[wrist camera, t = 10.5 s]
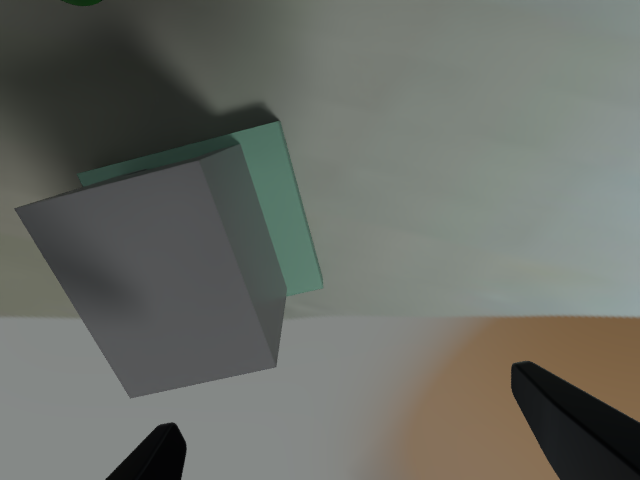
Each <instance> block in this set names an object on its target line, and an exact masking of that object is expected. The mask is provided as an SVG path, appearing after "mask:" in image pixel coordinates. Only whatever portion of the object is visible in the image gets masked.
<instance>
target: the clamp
mask: <svg viewBox="0 0 640 480" xmlns="http://www.w3.org/2000/svg"><path fill="white" fill-rule="evenodd" d="M62 1H64V2H66V3H69V4H73V5H78V6H90V5H94V4H97V3H99V2H101V1H102V0H62Z"/></svg>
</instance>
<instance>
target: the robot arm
mask: <svg viewBox="0 0 640 480" xmlns="http://www.w3.org/2000/svg"><path fill="white" fill-rule="evenodd" d="M511 389H512V393H513V395H514V397H515V399H516V401H517V403H518V405H519V407H520V409H521V411H522V413H523V415H524V416H525V418H526V420H527V422H528V424H529V426H530V428H531V430H532V432H533V433H534V435H535V437H536V439H537V441H538V443H539V445H540V447H541V449H542V450H543V452H544V454H545V456H546V458H547V460H548V461H549V463H550V464H551V466H552V468H553V469H554V471H555V473H556V474H557V475H558V477H559V478H560V480H640V422H638V421H636V420H634V419H633V418H630V417H629V416H627V415H625V414H624V413H622V412H620V411H618V410H617V409H615V408H613V407H611V406H609V405H608V404H606V403H604V402H602V401H600V400H599V399H597V398H595V397H593V396H592V395H590V394H588V393H586V392H585V391H583V390H581V389H579V388H577V387H576V386H574V385H572V384H570V383H569V382H567V381H565V380H563V379H561V378H560V377H558V376H556V375H554V374H552V373H551V372H549V371H547V370H545V369H543V368H542V367H540V366H538V365H537V364H535V363H533V362H530V361H523V362H517V363H513V364H512V368H511ZM186 450H187V448H186V442H185V440H184V438H183V436H182V434H181V432H180V430H179V428H178V426H177V425H176V424H175V423H167V424H161V425H159V426H157V427H156V428H155V429H154V430H153V431H152V432H151V433H150V434H149V435H148V436H147V437H146V438H145V439H144V440H143V441H142V442H141V443H140V445H138V446H137V448H136V449H135V450H134V451H133V452H132V453H131V454H130V455H129V456H128V457H127V458H126V459H125V460H124V461H123V462H122V463H121V464H120V465H119V466H118V467H117V468H116V469H115V470H114V471H113V472H112V473H111V474H110V475H109V476H108V477H107V478H106V480H181V477H182V472H183V467H184V462H185V457H186Z"/></svg>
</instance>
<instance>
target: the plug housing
mask: <svg viewBox="0 0 640 480" xmlns="http://www.w3.org/2000/svg"><path fill="white" fill-rule="evenodd" d="M14 209H15V211H16V212H17V214H18V216H19V217H20V219H21V220H22V222H23V224H24V225H25V227H26V229H27V230H28V232H29V234H30V235H31V237H32V238H33V240H34V242H35V243H36V245H37V247H38V248H39V250H40V252H41V253H42V255H43V256H44V258H45V260H46V261H47V263H48V265H49V266H50V268H51V270H52V271H53V273H54V274H55V276H56V278H57V279H58V281H59V283H60V284H61V286H62V288H63V289H64V291H65V292H66V294H67V296H68V297H69V299H70V301H71V302H72V304H73V306H74V307H75V309H76V310H77V312H78V314H79V315H80V317H81V319H82V320H83V322H84V323H85V325H86V327H87V328H88V330H89V332H90V333H91V335H92V337H93V338H94V340H95V341H96V343H97V345H98V346H99V348H100V350H101V351H102V353H103V355H104V356H105V358H106V360H107V361H108V363H109V364H110V366H111V367H112V369H113V371H114V372H115V374H116V376H117V377H118V379H119V381H120V382H121V384H122V386H123V387H124V389H125V391H126V392H127V394H128V396H129V397H130V398H134V397H139V396H144V395H148V394H153V393H158V392H162V391H167V390H171V389H176V388H181V387H186V386H190V385H195V384H200V383H204V382H209V381H214V380H218V379H223V378H228V377H232V376H237V375H241V374H246V373H251V372H256V371H260V370H265V369H270V368H274V367H276V365H277V357H278V351H279V343H280V337H281V329H282V322H283V315H284V308H285V301H286V294H287V287H286V284H285V280H284V277H283V274H282V271H281V268H280V265H279V262H278V259H277V256H276V253H275V249H274V246H273V243H272V240H271V237H270V234H269V231H268V228H267V225H266V222H265V218H264V215H263V212H262V209H261V206H260V203H259V200H258V197H257V194H256V191H255V187H254V184H253V181H252V178H251V175H250V172H249V169H248V166H247V163H246V160H245V157H244V153H243V150H242V147H241V144H238V145H234V146H230V147H226V148H222V149H219V150H215V151H212V152H209V153H206V154H204V155H201V156H198V157H195V158H191V159H187V160H183V161H179V162H176V163H172V164H168V165H164V166H160V167H157V168H153V169H149V170H147V168H146V169H142V170H138V171H135V172H131V173H127V174H123V175H120V176H116V177H113V178H110V179H107V180H104V181H100V182H97V183H94V184H91V185H88V186H84V187H81V188H78V189H75V190H72V191H69V192H65V193H62V194H59V195H56V196H53V197H49V198H46V199H43V200H40V201H37V202H33V203H30V204H27V205H24V206H21V207H18V208H14Z"/></svg>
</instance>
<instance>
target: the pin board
mask: <svg viewBox="0 0 640 480" xmlns="http://www.w3.org/2000/svg"><path fill="white" fill-rule="evenodd" d="M238 144H241V147H242V150H243V153H244V157H245V160H246V163H247V166H248V169H249V172H250V175H251V178H252V181H253V184H254V187H255V191H256V194H257V197H258V200H259V203H260V206H261V209H262V212H263V215H264V218H265V222H266V225H267V228H268V231H269V234H270V237H271V240H272V243H273V246H274V249H275V253H276V256H277V259H278V262H279V265H280V268H281V271H282V274H283V277H284V280H285V284H286V287H287V294H286V296H291V295H295V294H300V293H304V292H308V291H313V290H317V289H322V288H323V278H322V274H321V270H320V267H319V263H318V259H317V256H316V252H315V248H314V244H313V241H312V237H311V233H310V230H309V226H308V222H307V219H306V215H305V211H304V207H303V204H302V200H301V196H300V193H299V189H298V185H297V182H296V178H295V174H294V171H293V167H292V163H291V159H290V156H289V152H288V148H287V145H286V141H285V137H284V134H283V130H282V126H281V123H280V121H276V122H273V123H269V124H265V125H261V126H257V127H254V128H250V129H246V130H242V131H238V132H234V133H231V134H227V135H223V136H219V137H215V138H212V139H208V140H204V141H200V142H196V143H192V144H189V145H185V146H181V147H177V148H173V149H170V150H166V151H162V152H158V153H154V154H150V155H147V156H143V157H139V158H135V159H131V160H128V161H124V162H120V163H116V164H112V165H109V166H105V167H101V168H97V169H93V170H89V171H86V172H82V173H78V174H77V176H78V178H79V180H80V182H81V184H82V186H83V187H84V186H88V185H91V184H94V183H97V182H100V181H104V180H107V179H110V178H113V177H116V176H120V175H123V174H127V173H131V172H135V171H138V170H142V169H146V168H147V170H149V169H153V168H157V167H160V166H164V165H168V164H172V163H176V162H179V161H183V160H187V159H191V158H195V157H198V156H201V155H204V154H206V153H209V152H212V151H215V150H219V149H222V148H226V147H230V146H234V145H238Z"/></svg>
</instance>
